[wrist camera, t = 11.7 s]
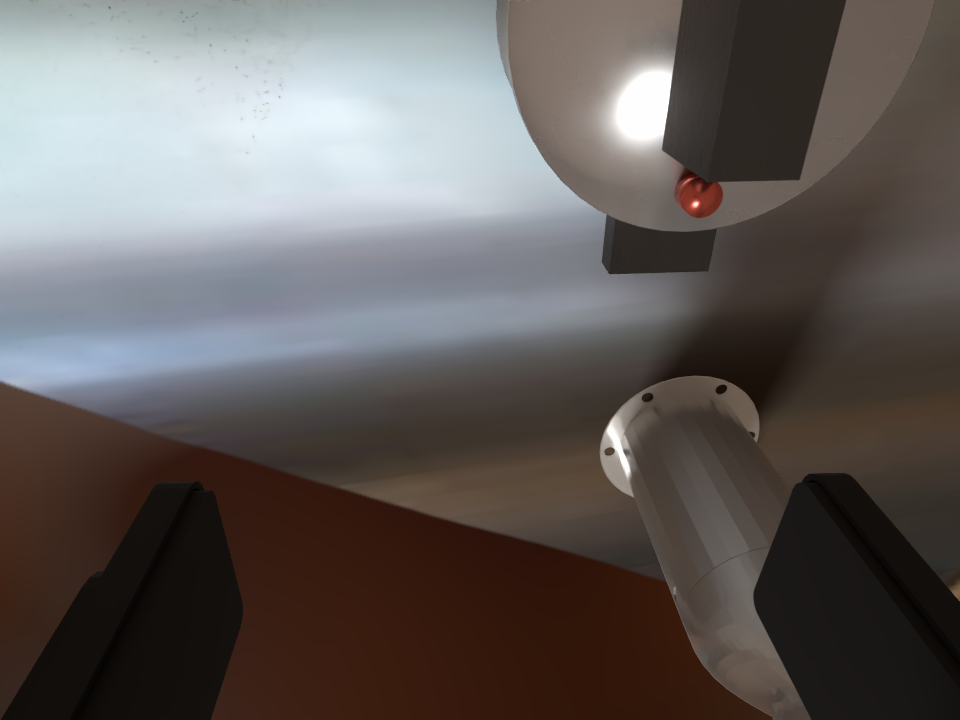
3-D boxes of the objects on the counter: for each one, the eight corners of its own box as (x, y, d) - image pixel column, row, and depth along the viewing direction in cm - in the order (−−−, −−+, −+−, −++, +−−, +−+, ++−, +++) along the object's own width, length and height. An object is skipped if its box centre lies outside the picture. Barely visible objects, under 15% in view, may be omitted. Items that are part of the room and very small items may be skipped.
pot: (739, 214, 38) (826, 277, 30) (488, 220, 38) (502, 287, 29) (845, -275, 27) (1034, -401, 18) (488, -278, 26) (512, -411, 18)
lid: (994, -259, 20) (1195, -352, 15) (847, 218, 28) (941, 270, 23) (507, -264, 19) (533, -362, 14) (502, 227, 27) (517, 283, 22)
